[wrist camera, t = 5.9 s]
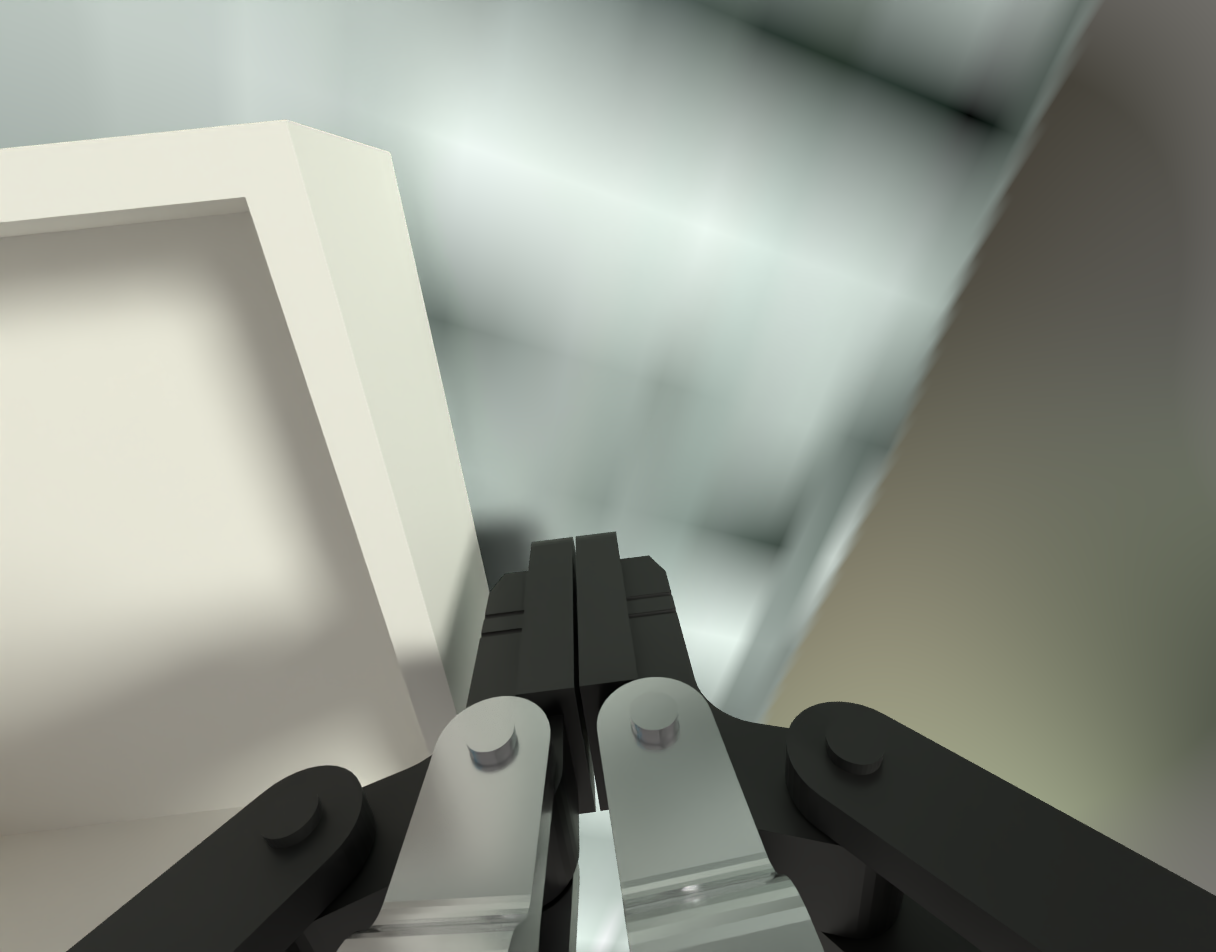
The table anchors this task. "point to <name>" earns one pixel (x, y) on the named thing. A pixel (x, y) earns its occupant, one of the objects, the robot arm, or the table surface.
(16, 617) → the tray
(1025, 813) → the robot arm
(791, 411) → the table surface
